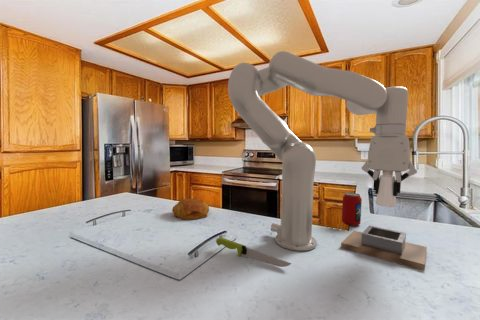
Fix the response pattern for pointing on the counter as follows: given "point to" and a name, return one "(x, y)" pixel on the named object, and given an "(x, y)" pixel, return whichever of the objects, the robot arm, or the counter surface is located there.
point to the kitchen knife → (251, 253)
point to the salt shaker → (386, 190)
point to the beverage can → (351, 209)
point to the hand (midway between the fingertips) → (386, 193)
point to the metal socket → (384, 239)
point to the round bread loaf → (191, 209)
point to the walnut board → (410, 255)
